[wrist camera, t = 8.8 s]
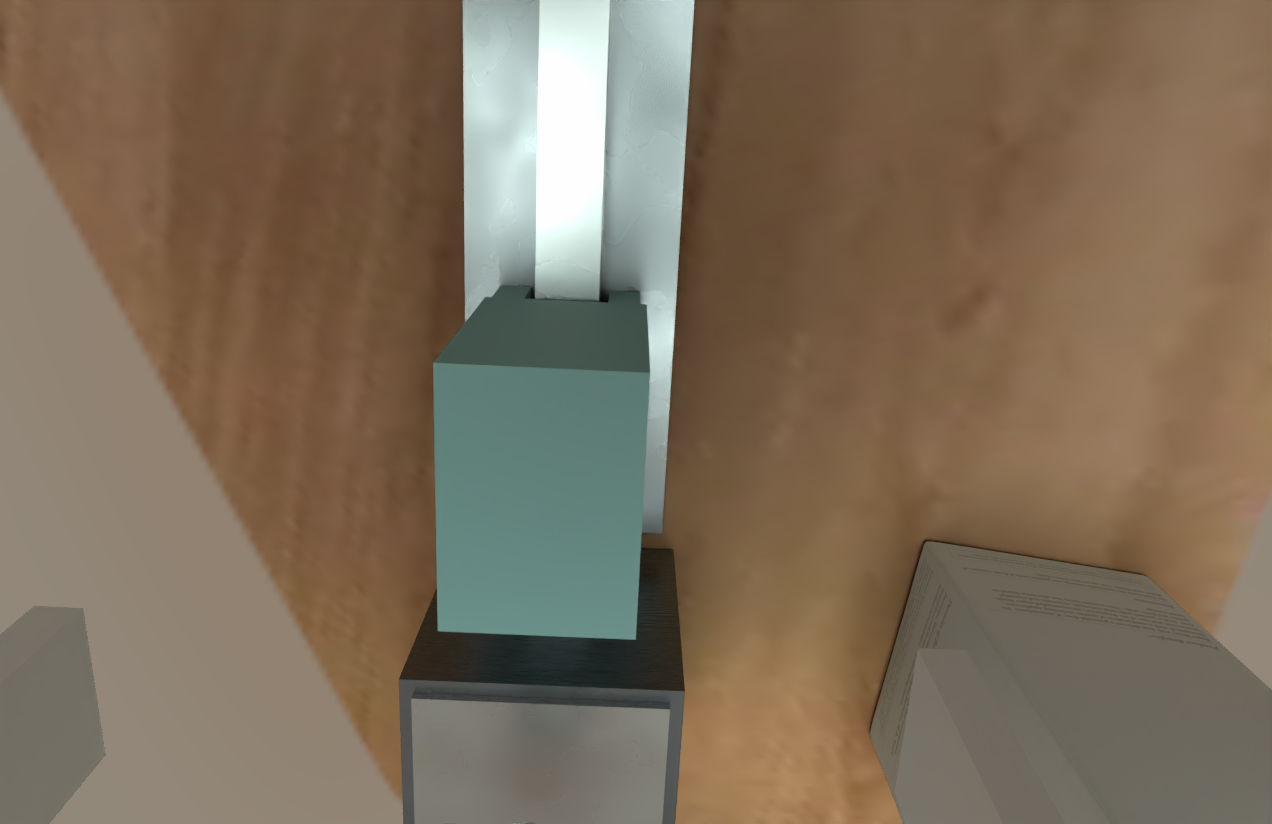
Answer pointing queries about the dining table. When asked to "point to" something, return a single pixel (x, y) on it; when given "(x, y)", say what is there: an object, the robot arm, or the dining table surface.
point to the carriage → (542, 466)
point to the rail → (629, 174)
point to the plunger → (526, 823)
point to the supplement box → (1092, 688)
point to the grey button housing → (547, 720)
